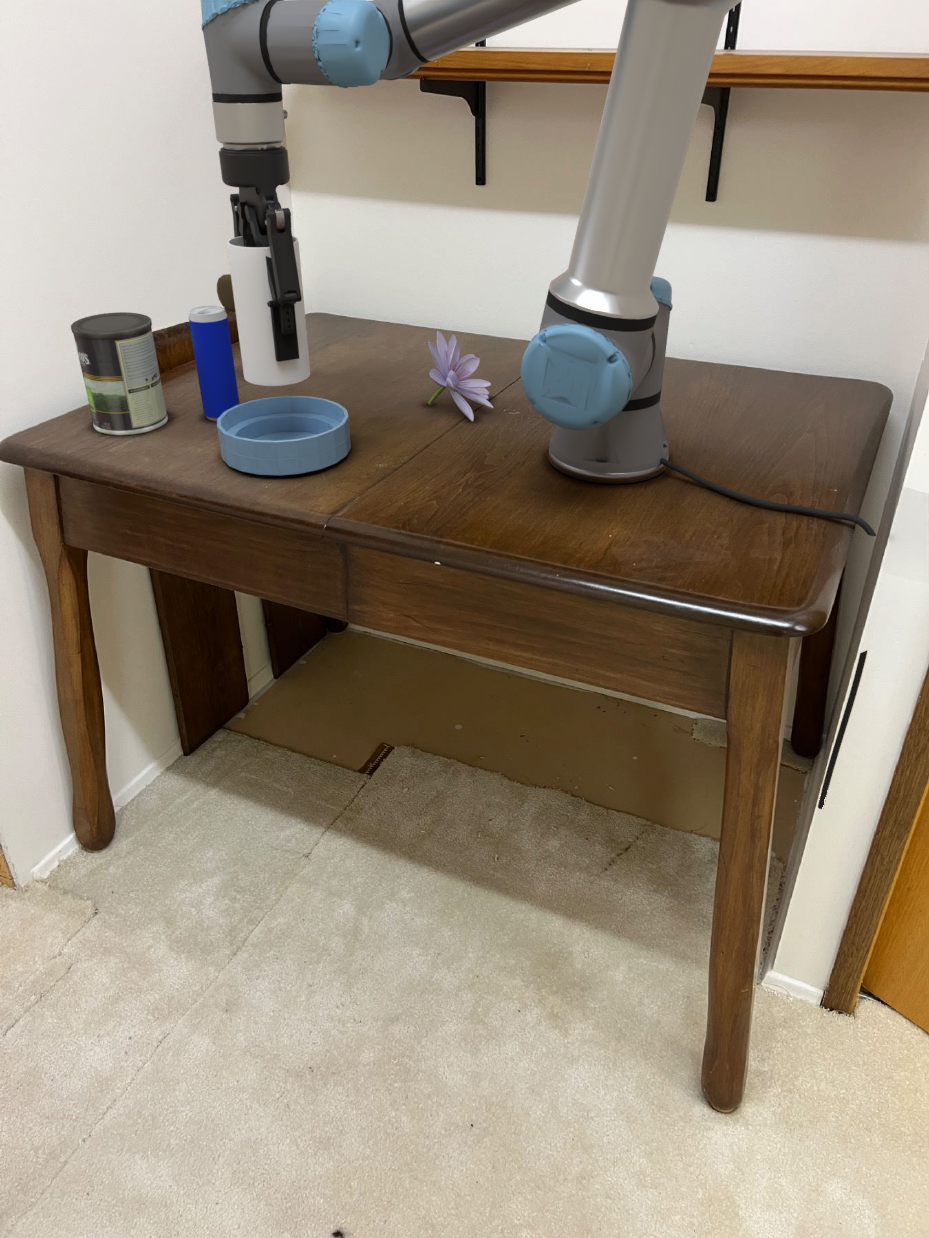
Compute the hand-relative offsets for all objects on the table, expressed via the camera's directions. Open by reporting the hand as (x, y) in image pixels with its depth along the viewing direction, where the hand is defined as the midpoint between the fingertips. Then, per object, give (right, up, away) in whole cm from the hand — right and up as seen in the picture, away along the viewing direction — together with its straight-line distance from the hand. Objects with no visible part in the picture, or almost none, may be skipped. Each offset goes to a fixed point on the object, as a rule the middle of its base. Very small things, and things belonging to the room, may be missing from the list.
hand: (274, 349), depth 116 cm
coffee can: (-24, -6, +17) cm, 30 cm away
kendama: (-9, +6, +35) cm, 37 cm away
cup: (0, -3, +2) cm, 3 cm away
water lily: (+23, -3, +21) cm, 31 cm away
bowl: (0, -12, +7) cm, 14 cm away
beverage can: (-11, -4, +19) cm, 23 cm away
